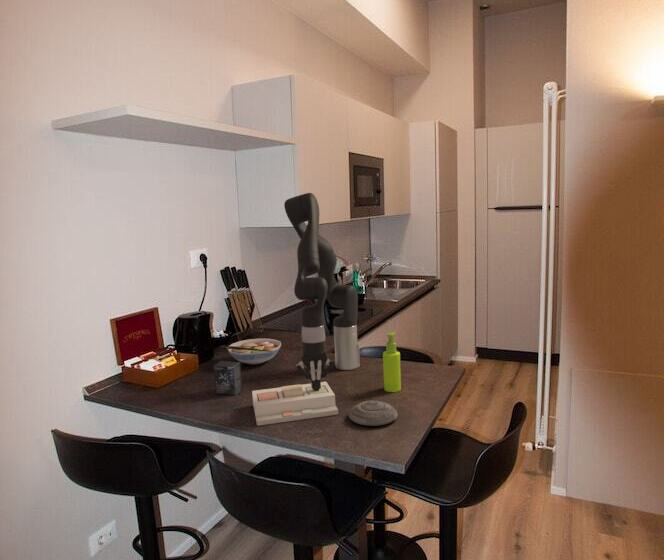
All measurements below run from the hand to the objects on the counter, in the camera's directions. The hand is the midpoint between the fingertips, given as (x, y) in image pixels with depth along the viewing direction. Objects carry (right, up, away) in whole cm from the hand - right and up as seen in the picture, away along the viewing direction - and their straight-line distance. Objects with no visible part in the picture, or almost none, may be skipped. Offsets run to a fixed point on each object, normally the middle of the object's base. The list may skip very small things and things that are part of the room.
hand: (316, 390), depth 164 cm
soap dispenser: (+27, -2, +12) cm, 29 cm away
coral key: (-15, -4, -3) cm, 16 cm away
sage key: (0, -3, 0) cm, 3 cm away
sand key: (-8, -2, -1) cm, 8 cm away
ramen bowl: (-27, +1, +49) cm, 57 cm away
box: (-32, -4, +16) cm, 36 cm away
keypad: (-7, -6, -3) cm, 9 cm away
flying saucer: (+18, -6, -12) cm, 22 cm away
